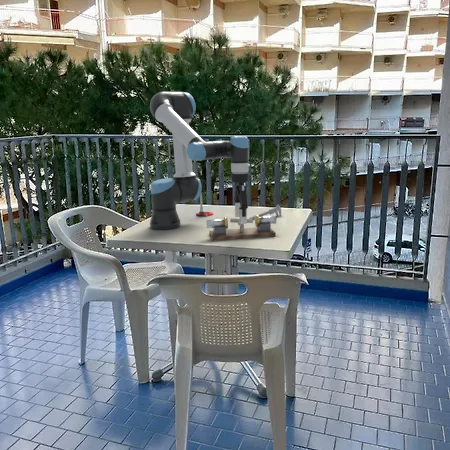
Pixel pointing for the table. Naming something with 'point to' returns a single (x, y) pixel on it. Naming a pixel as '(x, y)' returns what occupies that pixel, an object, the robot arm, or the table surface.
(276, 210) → the caliper
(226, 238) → the board
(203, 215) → the tow hook
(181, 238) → the table surface
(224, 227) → the left shaft
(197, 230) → the table surface
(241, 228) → the pipe connector
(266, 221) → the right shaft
